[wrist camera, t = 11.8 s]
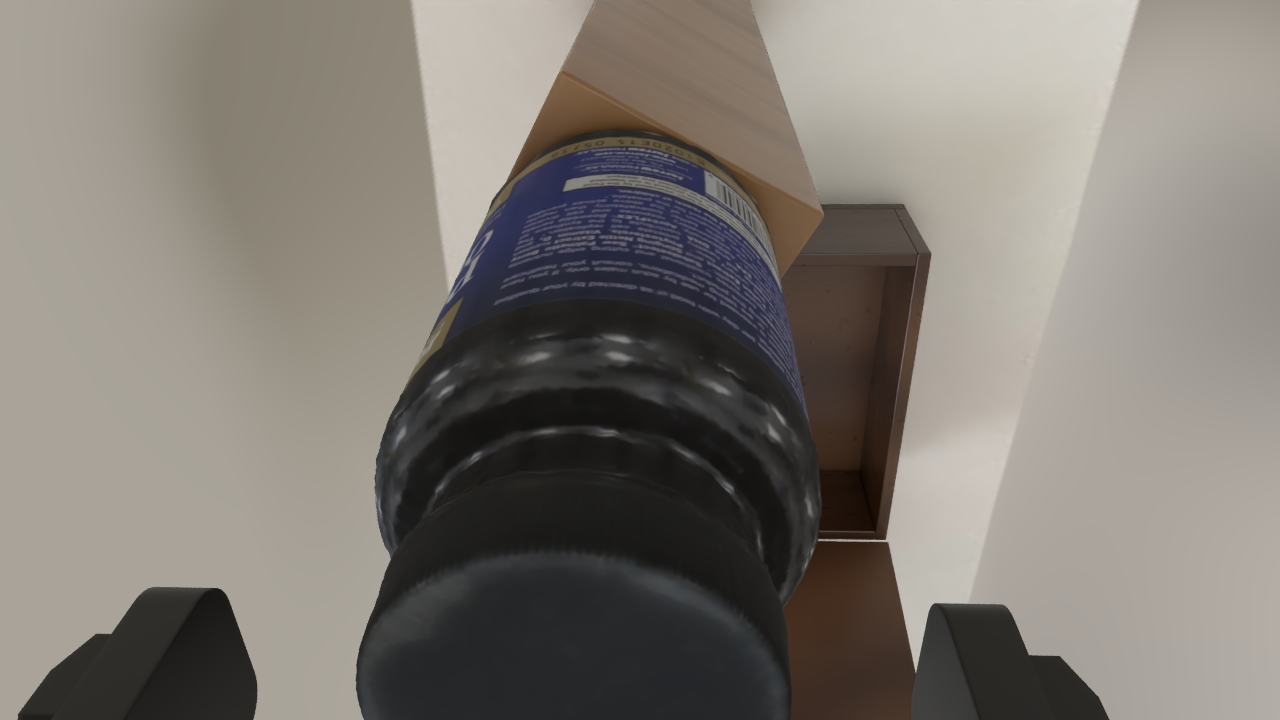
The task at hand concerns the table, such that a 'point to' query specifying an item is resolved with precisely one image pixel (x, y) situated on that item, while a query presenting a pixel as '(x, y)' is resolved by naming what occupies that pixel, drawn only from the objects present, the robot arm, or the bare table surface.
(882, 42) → the table surface
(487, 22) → the table surface
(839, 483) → the chest
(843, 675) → the lid
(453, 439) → the pill bottle
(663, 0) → the pedestal
